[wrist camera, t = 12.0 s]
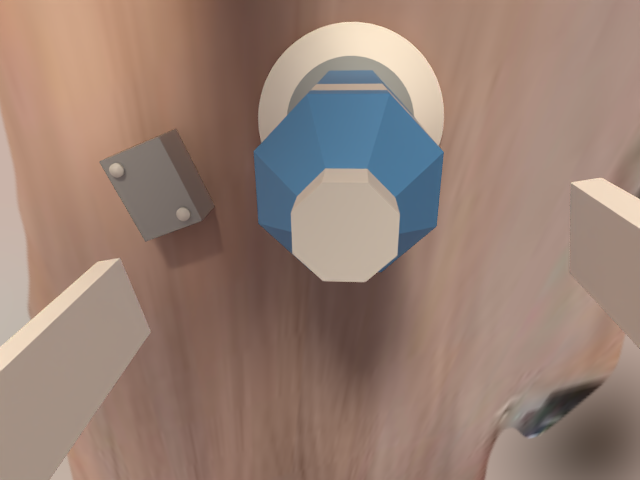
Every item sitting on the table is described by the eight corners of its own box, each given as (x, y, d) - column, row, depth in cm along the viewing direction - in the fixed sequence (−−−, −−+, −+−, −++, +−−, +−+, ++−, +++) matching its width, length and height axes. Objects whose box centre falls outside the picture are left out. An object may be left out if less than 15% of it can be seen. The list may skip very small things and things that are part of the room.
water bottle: (419, 153, 40) (508, 299, 17) (321, 191, 42) (282, 369, 19) (382, 46, 37) (430, 49, 14) (278, 93, 39) (168, 164, 16)
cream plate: (240, 45, 39) (236, 45, 37) (430, 2, 36) (433, 0, 35) (283, 219, 45) (281, 224, 43) (449, 191, 42) (452, 195, 41)
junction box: (121, 151, 43) (96, 162, 39) (175, 128, 42) (156, 137, 38) (162, 225, 46) (143, 243, 42) (214, 206, 44) (200, 222, 40)
